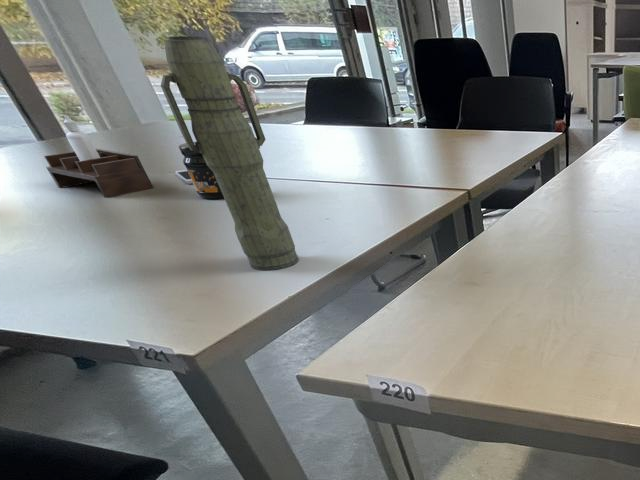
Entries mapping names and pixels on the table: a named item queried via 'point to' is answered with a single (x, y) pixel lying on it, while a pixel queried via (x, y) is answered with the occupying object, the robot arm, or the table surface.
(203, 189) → the supplement container
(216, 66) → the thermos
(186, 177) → the smartphone
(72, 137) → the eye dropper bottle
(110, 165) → the shelf
